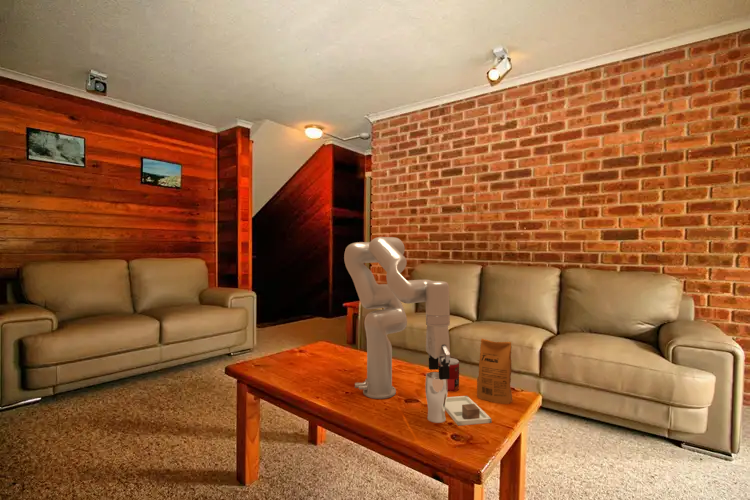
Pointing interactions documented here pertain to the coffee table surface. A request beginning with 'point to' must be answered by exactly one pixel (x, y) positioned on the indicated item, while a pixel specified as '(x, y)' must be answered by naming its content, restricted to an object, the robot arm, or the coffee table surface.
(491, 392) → the coffee package
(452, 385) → the canned food
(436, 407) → the beer glass
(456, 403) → the tray
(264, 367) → the coffee table surface
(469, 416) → the walnut block
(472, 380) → the coffee table surface
